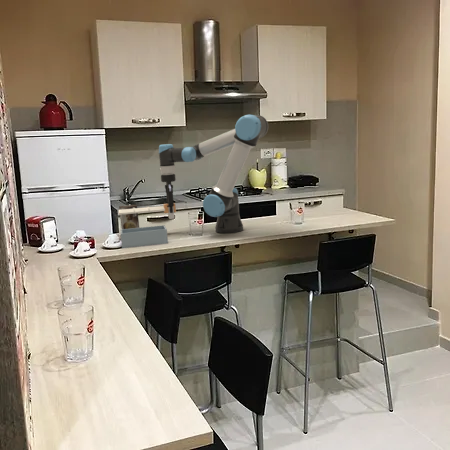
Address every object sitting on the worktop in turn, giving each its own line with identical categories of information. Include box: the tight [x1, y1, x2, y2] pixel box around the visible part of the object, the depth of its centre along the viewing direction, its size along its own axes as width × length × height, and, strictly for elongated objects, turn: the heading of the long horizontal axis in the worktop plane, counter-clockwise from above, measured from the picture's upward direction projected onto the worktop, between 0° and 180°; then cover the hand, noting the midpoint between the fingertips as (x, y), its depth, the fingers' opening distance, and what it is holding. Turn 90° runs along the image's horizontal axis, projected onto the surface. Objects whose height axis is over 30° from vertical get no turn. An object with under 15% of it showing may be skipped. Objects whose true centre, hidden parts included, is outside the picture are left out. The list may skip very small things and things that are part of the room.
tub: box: [120, 225, 169, 249], centre depth 256 cm, size 22×12×8 cm, turn 101°
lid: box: [118, 202, 177, 216], centre depth 273 cm, size 30×13×4 cm, turn 101°
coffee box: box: [118, 204, 140, 229], centre depth 286 cm, size 9×6×16 cm
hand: (171, 218), depth 276 cm, fingers closed on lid, 3 cm apart
